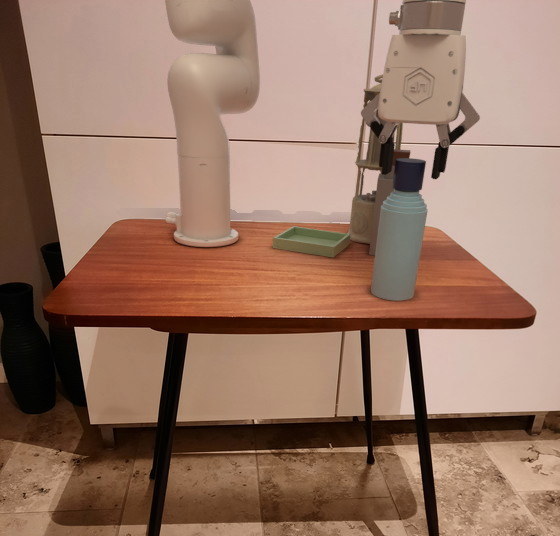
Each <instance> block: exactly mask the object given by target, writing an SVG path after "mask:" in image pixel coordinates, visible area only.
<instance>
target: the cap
mask: <svg viewBox="0 0 560 536" xmlns="http://www.w3.org/2000/svg"><path fill="white" fill-rule="evenodd" d="M426 165H427V160H424V159H421V158H410V157H409V158H399V159H396V163H395V169H394V177H393V184H392V185H393V186H392V187H393V188H394V189H398V190H404V191H419V192H420V191H422V190H423V186H424V185H423V184H424V178H425V171H426Z"/></svg>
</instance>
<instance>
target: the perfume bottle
mask: <svg viewBox="0 0 560 536" xmlns="http://www.w3.org/2000/svg"><path fill="white" fill-rule="evenodd" d="M410 157H411V150H410V149H400V150H398V149H395V148H394V155H393V164H392V171H391V172H390V173H388V174H386V175H382V174H380V172H378V173H379V174H378V177H377V183H376V190H375V191H376V198H375V207H374V215H373V224H372V233H371V241H370V244H369V251H368V255H369V256H375V252H376V243H377V235H378V227H379V219H380V211H381V206H382V205H383V201H384V200H387V197H388V196H390V193H391V192H394V188H393V187H392V186H393V185H392V184H393V177H394V169H395V163H396V159H399V158H410Z"/></svg>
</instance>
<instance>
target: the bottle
mask: <svg viewBox="0 0 560 536" xmlns="http://www.w3.org/2000/svg"><path fill="white" fill-rule="evenodd" d="M427 207H428V205H427V203H425V199H424V198H423V195H422V194H421V193H420V190H419V191H404V190H398V189H394V192H391V193H390V196H388V197H387V200H384V201H383V205H382V206H381V211H380V219H379V227H378V235H377V243H376V252H375V255H374V259H373V260H374V261H373V267H372V268H373V269H372V277H371V285H370V293H371V294H372V295H373V296H374V297H377V298H378V299H381V300H385V301H394V302H401V301H402V302H403V301H408V300H411V299H413V297H414V296H415V290H416V285H417V277H418V273H419V272H418V271H419V266H420V260H421V254H422V247H423V243H424V242H423V241H424V235H425V229H426V224H427V223H426V222H427V216H428V208H427Z"/></svg>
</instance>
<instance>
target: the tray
mask: <svg viewBox="0 0 560 536" xmlns="http://www.w3.org/2000/svg"><path fill="white" fill-rule="evenodd" d="M350 236H351V234H347V232H346V233H345V232H339V231H331V230H324V229H316V228H310V227H303V226H297V225H293V226H291V227H289V228H288V229H285V230H284V231H282V232H281V233H279V234H277V235H275V236H273V237H272V249H277V250H283V251H288V252H294V253H301V254H307V255H315V256H321V257H327V258H335V257H336V256H337V255H339V254H340V253H341V252H342V251H344V250H345V249H346V248H347V247H348V246H349V245H350V244H351V240H350Z"/></svg>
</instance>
